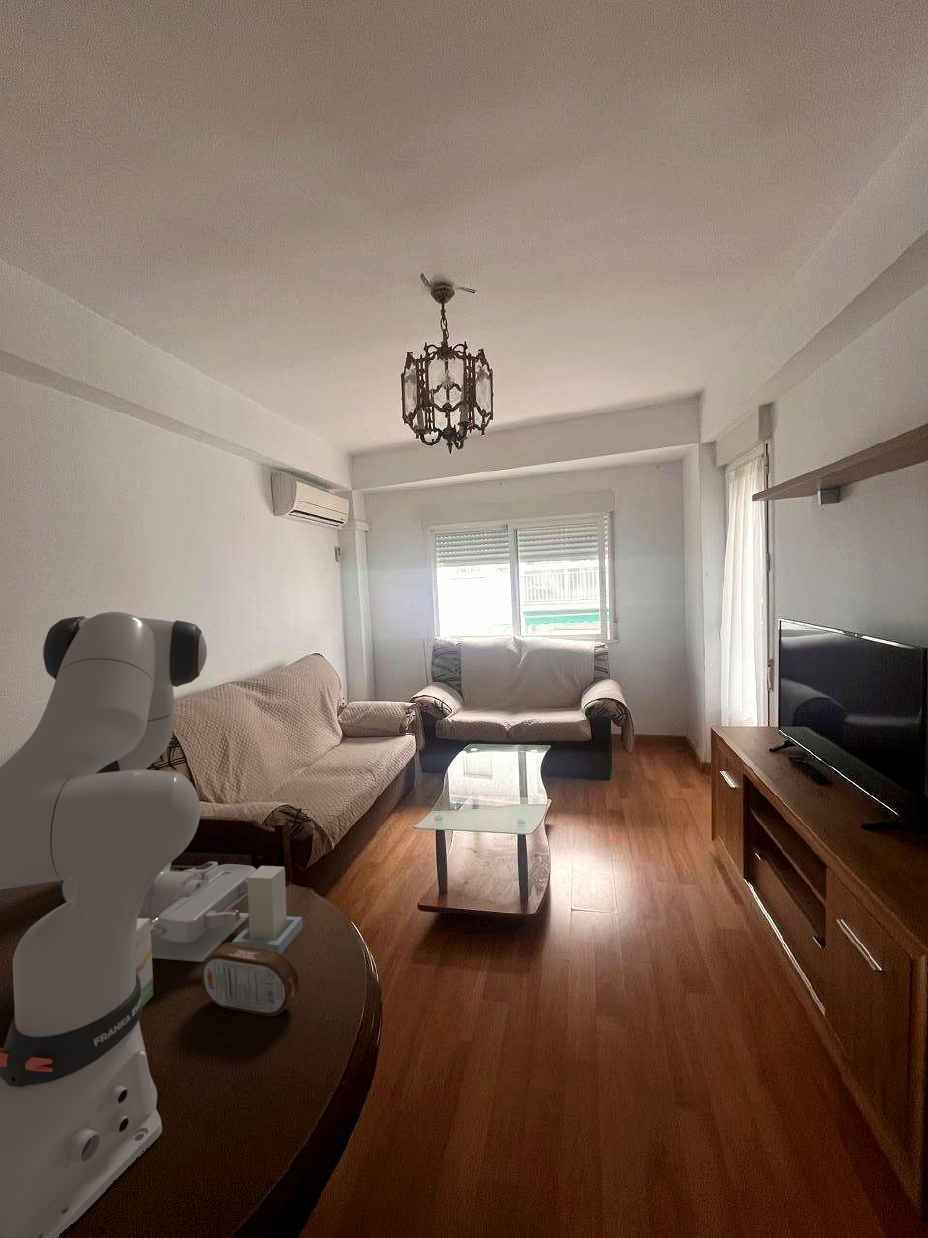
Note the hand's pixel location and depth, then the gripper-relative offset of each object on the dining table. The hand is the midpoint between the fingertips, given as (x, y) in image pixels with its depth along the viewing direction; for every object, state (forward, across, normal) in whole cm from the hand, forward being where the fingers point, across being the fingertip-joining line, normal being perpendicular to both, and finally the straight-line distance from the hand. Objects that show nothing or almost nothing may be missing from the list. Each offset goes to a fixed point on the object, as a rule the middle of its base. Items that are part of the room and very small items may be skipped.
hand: (252, 903), depth 97 cm
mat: (-12, 0, +6) cm, 14 cm away
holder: (+3, 0, +6) cm, 7 cm away
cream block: (+3, 0, +6) cm, 7 cm away
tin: (+9, -16, +7) cm, 19 cm away
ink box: (-11, -18, +7) cm, 22 cm away
